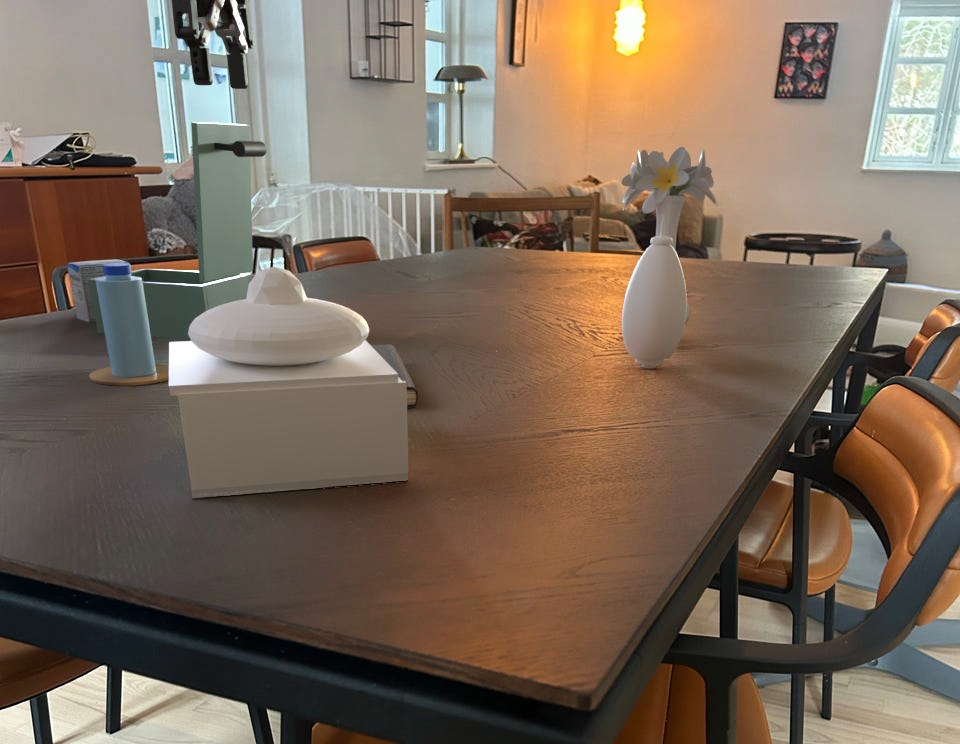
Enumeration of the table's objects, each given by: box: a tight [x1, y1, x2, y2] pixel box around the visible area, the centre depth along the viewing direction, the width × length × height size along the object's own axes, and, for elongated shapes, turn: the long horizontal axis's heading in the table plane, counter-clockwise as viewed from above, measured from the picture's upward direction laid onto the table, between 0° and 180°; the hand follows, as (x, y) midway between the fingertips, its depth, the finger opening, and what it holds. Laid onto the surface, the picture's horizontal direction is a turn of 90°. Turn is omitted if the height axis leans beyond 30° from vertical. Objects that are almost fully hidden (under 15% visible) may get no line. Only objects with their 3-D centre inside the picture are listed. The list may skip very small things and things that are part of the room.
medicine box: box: [66, 258, 131, 323], centre depth 138 cm, size 8×4×9 cm, turn 135°
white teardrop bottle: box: [621, 213, 688, 370], centre depth 113 cm, size 8×8×18 cm
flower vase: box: [621, 146, 719, 326], centre depth 130 cm, size 13×18×25 cm
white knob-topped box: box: [168, 266, 410, 495], centre depth 78 cm, size 18×18×16 cm
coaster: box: [88, 363, 169, 387], centre depth 109 cm, size 10×10×1 cm
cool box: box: [88, 268, 252, 340], centre depth 131 cm, size 18×14×8 cm
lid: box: [190, 121, 268, 283], centre depth 122 cm, size 19×14×5 cm
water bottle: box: [96, 263, 156, 377], centre depth 106 cm, size 5×5×12 cm
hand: (222, 87), depth 112 cm, fingers open, 8 cm apart
